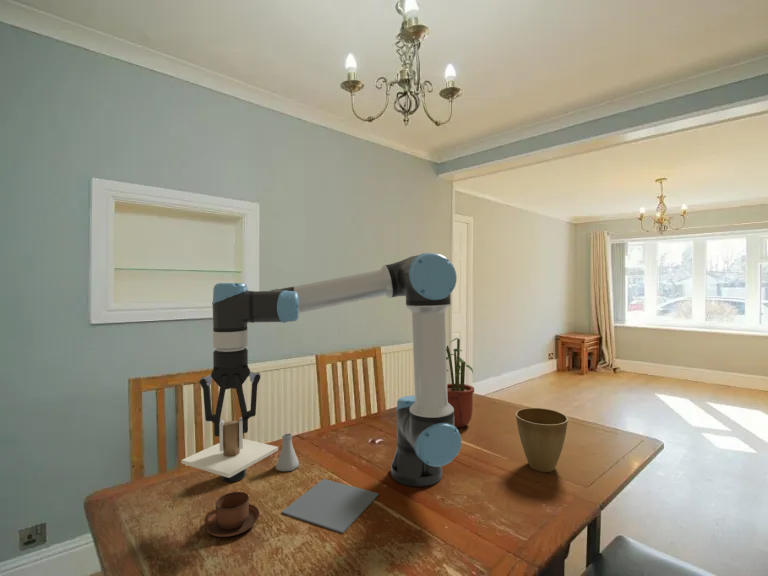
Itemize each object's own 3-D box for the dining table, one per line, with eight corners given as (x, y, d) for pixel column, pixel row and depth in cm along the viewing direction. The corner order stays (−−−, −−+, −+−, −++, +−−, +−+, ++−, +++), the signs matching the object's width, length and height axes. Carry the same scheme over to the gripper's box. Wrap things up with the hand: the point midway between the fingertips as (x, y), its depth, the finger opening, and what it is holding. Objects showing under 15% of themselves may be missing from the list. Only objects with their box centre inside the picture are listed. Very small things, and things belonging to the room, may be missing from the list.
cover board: (278, 450, 95) (278, 418, 95) (229, 477, 82) (228, 441, 82) (233, 439, 102) (233, 409, 102) (181, 463, 89) (181, 429, 88)
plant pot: (523, 452, 131) (523, 404, 131) (571, 463, 123) (572, 413, 122) (509, 469, 119) (509, 417, 119) (562, 484, 110) (562, 427, 110)
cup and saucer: (226, 549, 84) (226, 521, 84) (193, 531, 91) (193, 504, 91) (269, 520, 95) (269, 495, 94) (237, 505, 101) (237, 482, 101)
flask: (293, 473, 117) (293, 440, 117) (271, 471, 119) (270, 438, 119) (303, 462, 125) (302, 431, 124) (282, 460, 126) (281, 429, 126)
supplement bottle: (225, 472, 119) (225, 432, 118) (248, 470, 119) (248, 431, 119) (218, 483, 112) (217, 442, 112) (242, 482, 112) (242, 441, 112)
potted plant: (477, 430, 150) (477, 339, 149) (437, 430, 150) (436, 340, 149) (468, 415, 167) (468, 333, 167) (432, 415, 167) (431, 334, 167)
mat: (378, 494, 105) (378, 493, 105) (342, 533, 89) (342, 531, 89) (323, 480, 113) (323, 478, 113) (281, 513, 97) (281, 511, 97)
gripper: (267, 344, 98) (267, 437, 98) (193, 348, 92) (194, 446, 93) (268, 349, 91) (269, 449, 91) (188, 353, 85) (190, 459, 86)
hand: (231, 447), depth 92 cm, fingers closed on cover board, 3 cm apart
